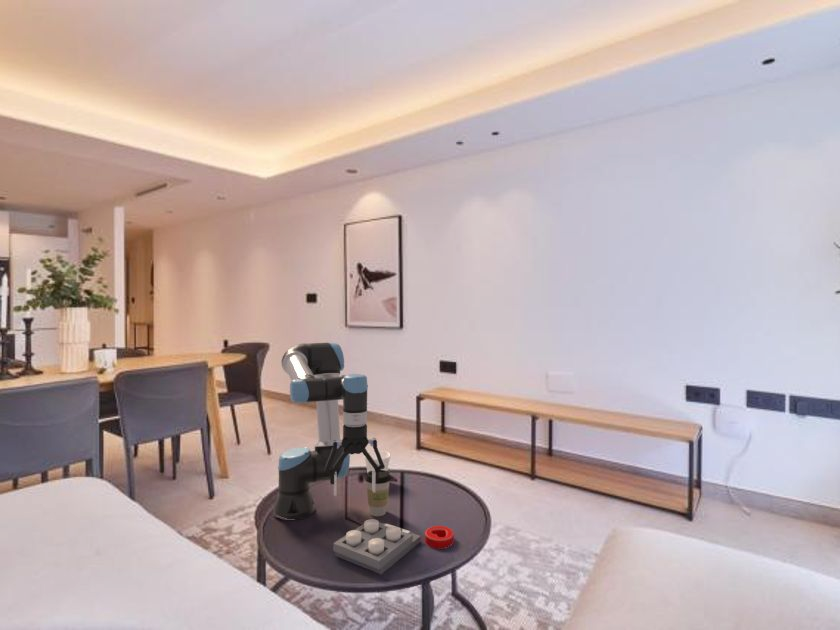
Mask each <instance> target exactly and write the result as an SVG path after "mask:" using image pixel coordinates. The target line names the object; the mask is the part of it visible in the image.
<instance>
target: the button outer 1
mask: <svg viewBox="0 0 840 630" xmlns="http://www.w3.org/2000/svg"><path fill="white" fill-rule="evenodd" d="M383 552H384V540H383V539H380V538H374V539H371V540H370V541H369V542H368V553H370V554H373V555H376V556H379V555H380V554H382V553H383Z"/></svg>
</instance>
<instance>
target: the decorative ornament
mask: <svg viewBox="0 0 840 630" xmlns="http://www.w3.org/2000/svg"><path fill="white" fill-rule="evenodd" d="M454 537H455V535H454V531H453V530H452V529H451V528H449V527H447V526H443V525H441V526H440V525H436V526H435V525H434V526H430V527H428V528H427V529H426V531H425V533H424V543H425V544H426V545H427V546H428V547H430V548H433V549H438V550H439V549H440V550H441V549H442V548H444V549H446V548H445V547H448V546H450V545H451V544H452V543H453V541H455V540H454V539H455V538H454ZM453 544H454V543H453ZM450 547H451V546H450ZM448 548H449V547H448ZM442 550H443V549H442Z"/></svg>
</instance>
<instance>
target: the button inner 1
mask: <svg viewBox="0 0 840 630" xmlns="http://www.w3.org/2000/svg"><path fill="white" fill-rule="evenodd" d="M345 534H346V535H345V536H346V544H347V545H350V546H352V547H356V546H358V545H359V544H361V532H360V531H357V530H355V529H352V530H349V531H347V532H346V533H345Z"/></svg>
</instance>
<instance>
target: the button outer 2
mask: <svg viewBox="0 0 840 630" xmlns="http://www.w3.org/2000/svg"><path fill="white" fill-rule="evenodd" d="M400 528H401V527H399V526H395V525H392V526H391V527H388V528H387V529H386V540H388V541H391V542H394V543H396V542H397V541H399V540H400V539H401V529H400Z"/></svg>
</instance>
